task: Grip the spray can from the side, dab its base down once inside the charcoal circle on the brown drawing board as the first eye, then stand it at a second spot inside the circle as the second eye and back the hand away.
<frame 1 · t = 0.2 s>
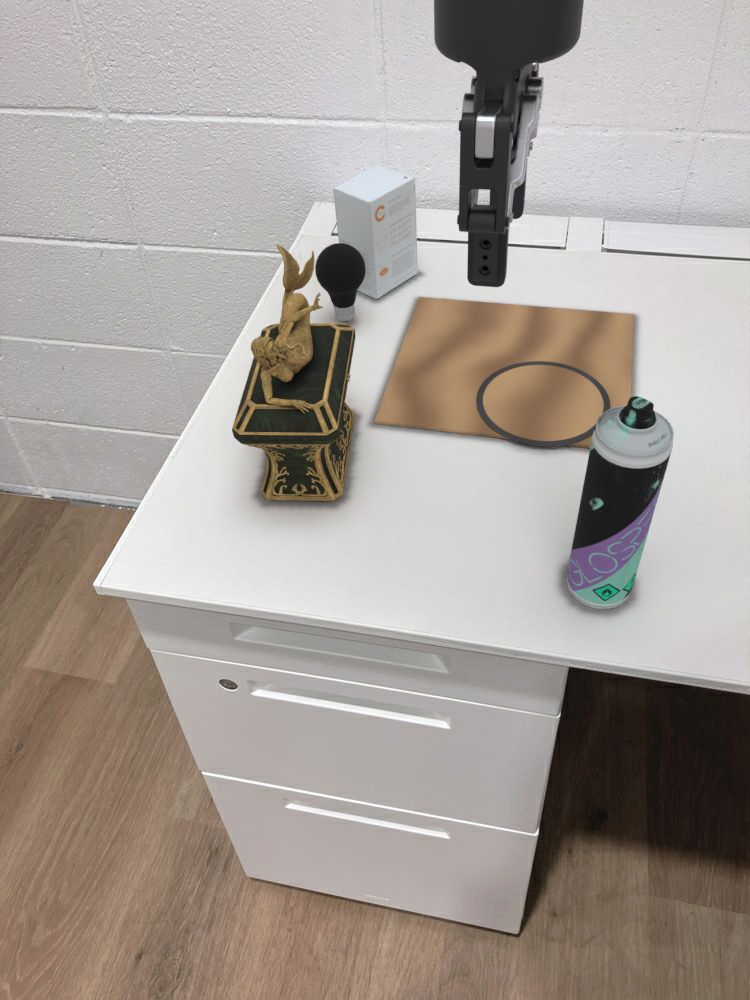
hand: (497, 247, 50), 30 cm above the table, tool pointing down, fingers open, 8 cm apart
small box: (380, 280, 105), on the table
spray can: (598, 584, 69), on the table
drawing board: (511, 367, 90), on the table
decorative box: (313, 445, 83), on the table
light bulb: (345, 322, 98), on the table
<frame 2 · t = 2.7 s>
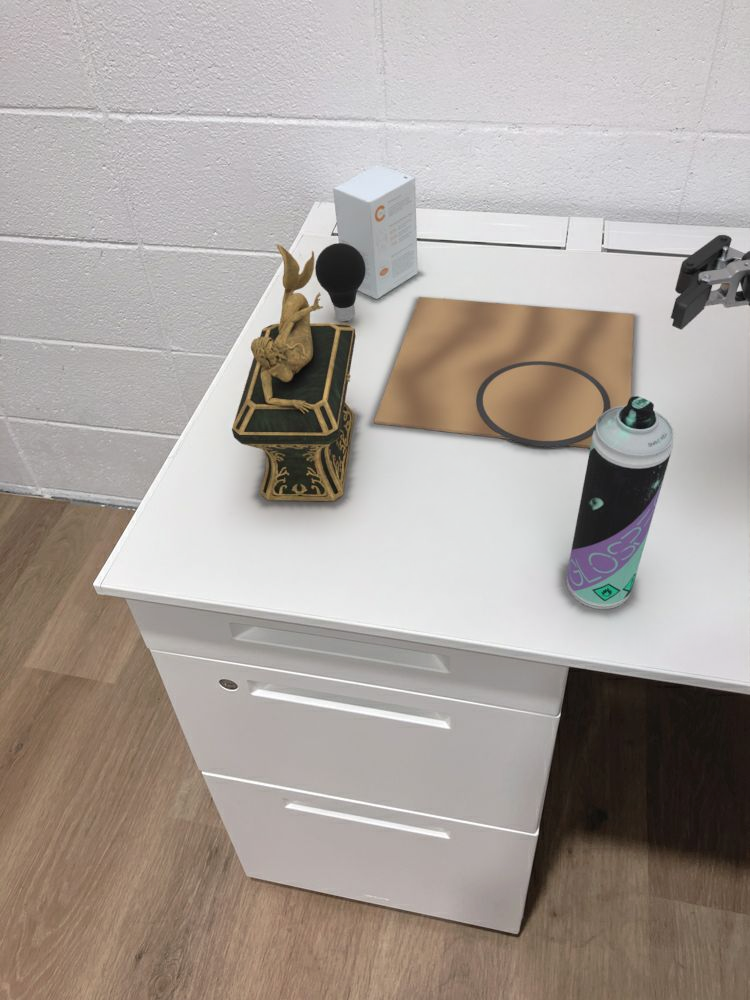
hand: (731, 341, 58), 20 cm above the table, tool horizontal, fingers open, 8 cm apart
nothing on the table moved.
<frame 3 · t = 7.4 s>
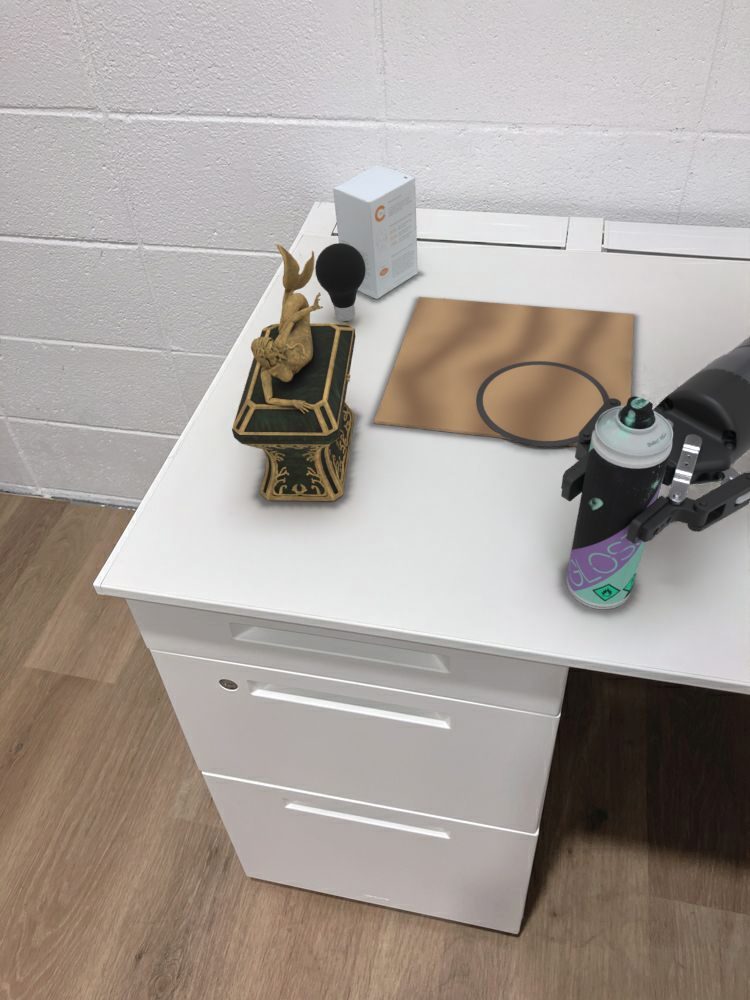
hand: (598, 511, 60), 11 cm above the table, tool horizontal, fingers closed on spray can, 5 cm apart
spray can: (598, 584, 69), on the table, touching gripper
everything else where it was.
when the fingers open (12 cm above the table, at t = 17.5 s): spray can stays where it is, resting on drawing board.
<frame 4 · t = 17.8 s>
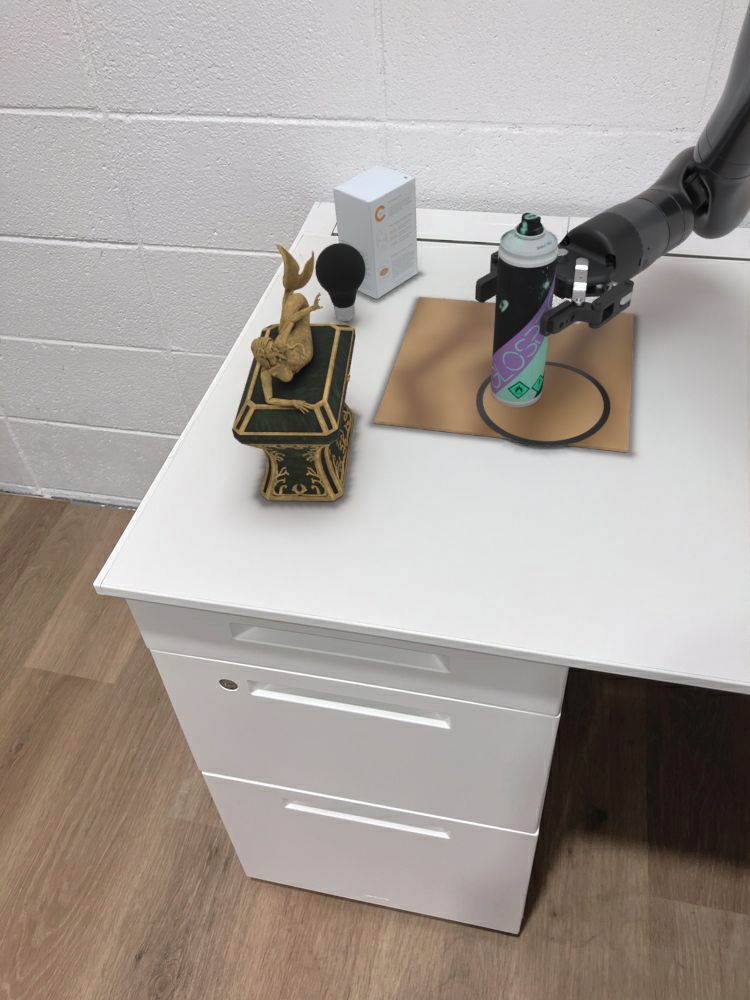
hand: (509, 310, 77), 12 cm above the table, tool horizontal, fingers open, 8 cm apart
spray can: (515, 392, 86), resting on drawing board
everything else where it was.
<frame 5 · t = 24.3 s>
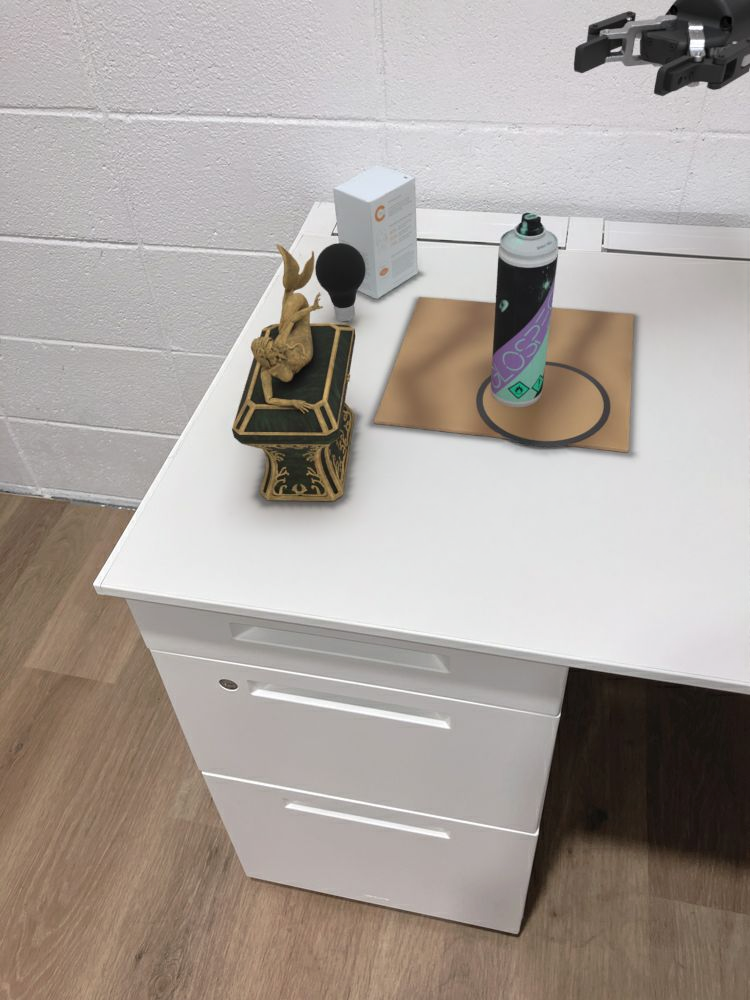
hand: (617, 71, 69), 30 cm above the table, tool horizontal, fingers open, 8 cm apart
nothing on the table moved.
at the end: spray can inside the target area on the drawing board (3.1 cm from its centre), point 0.3 cm above the drawing board's base; spray can tilted 0°; the gripper is holding nothing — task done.
